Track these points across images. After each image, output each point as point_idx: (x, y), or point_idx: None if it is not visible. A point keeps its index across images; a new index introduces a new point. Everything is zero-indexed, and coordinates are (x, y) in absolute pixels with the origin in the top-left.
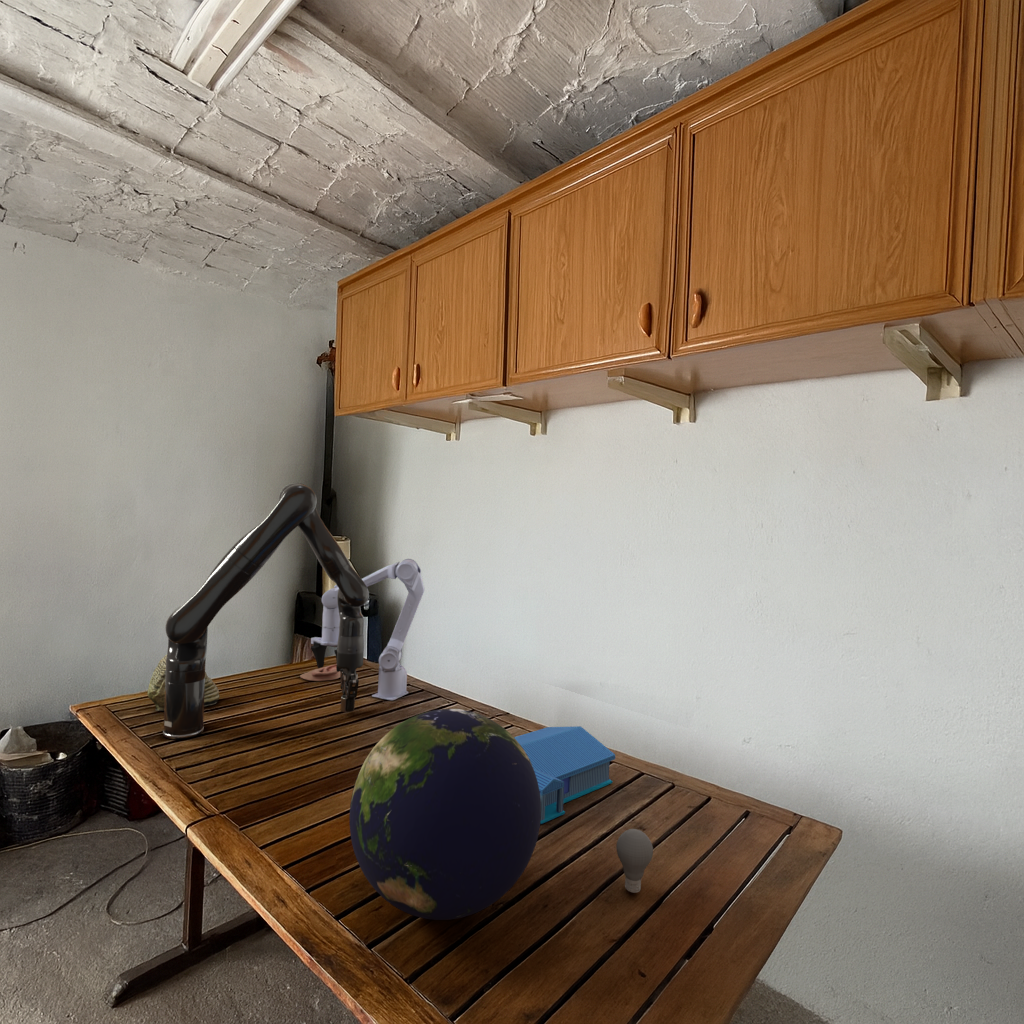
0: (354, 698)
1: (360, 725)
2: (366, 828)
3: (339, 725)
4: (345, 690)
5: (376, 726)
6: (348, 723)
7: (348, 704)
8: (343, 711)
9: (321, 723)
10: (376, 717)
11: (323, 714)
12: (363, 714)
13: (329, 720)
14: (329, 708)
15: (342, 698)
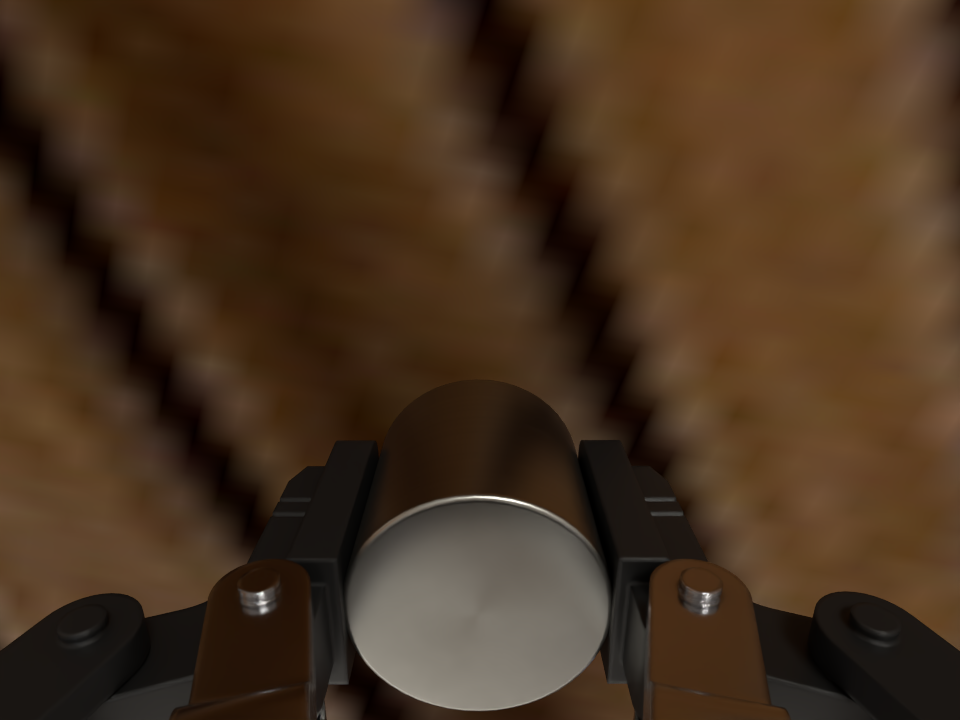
0: (410, 678)
1: (62, 498)
2: None
3: (97, 266)
4: (296, 689)
5: (8, 634)
6: (157, 387)
7: (271, 529)
8: (410, 407)
9: (229, 24)
10: None
11: (628, 133)
12: None
13: (334, 171)
14: (851, 270)
15: (417, 500)
